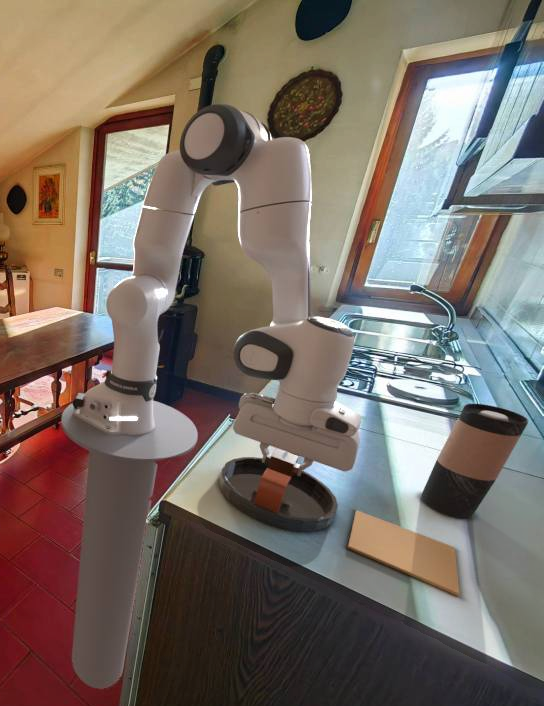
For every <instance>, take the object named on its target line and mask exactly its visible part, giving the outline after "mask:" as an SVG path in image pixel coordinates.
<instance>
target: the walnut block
mask: <svg viewBox="0 0 544 706" xmlns="http://www.w3.org/2000/svg"><path fill="white" fill-rule="evenodd" d="M271 454H272V455H271V458H270V461H269V464H268V467H267V468H268V469H271V470H274V471H276V472H279V473H282V474H284V475H287V476H290V477H292V471H293V468H294V466H295V464H296V463H297V464H298V460H299V457H300V456H297V455H294V454H291V453H290V452H287V451H284V450H281V449H278V448H275V450H274V451H273V453H271ZM290 480H291V479H290Z"/></svg>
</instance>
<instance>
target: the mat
mask: <svg viewBox="0 0 544 706" xmlns="http://www.w3.org/2000/svg"><path fill="white" fill-rule="evenodd" d="M347 549H348V550H351V551H353V552H355V553H357V554H360V555H362V556H364V557H367V558H369V559H371V560H373V561H376V562H378V563H380V564H383V565H385V566H387V567H390V568H393V569H395V570H397V571H399V572H401V573H404V574H405V575H406V574H407V575H408V576H411V577H413V578H415V579H418V580H419V581H422V582H425V583H427V584H429V585H432V586H434V587H435V588H438V589H440V590H442V591H446V592H447V593H450V594H452V595H454V596H456V597H459V596H460V584H459V575H458V574H459V573H458V564H457V555H456V548H455V547H454V546H452V545H449V544H446V543H444V542H442V541H439V540H436V539H434V538H431V537H428V536H426V535H423V534H421V533H417V532H416V531H413V530H411V529H407V528H404V527H402V526H399V525H397V524H394V523H392V522H389V521H386V520H383V519H381V518H379V517H376V516H373V515H371V514H368V513H365V512H362V511H361V510H357V509H356V510H355V513H354V517H353V521H352V526H351V530H350V534H349V539H348V543H347Z"/></svg>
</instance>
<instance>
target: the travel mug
mask: <svg viewBox="0 0 544 706" xmlns="http://www.w3.org/2000/svg"><path fill="white" fill-rule="evenodd" d="M528 424H529V419H528V418H527V417H525V416H524V415H522V414H520V413H518V412H515V411H512V410H509V409H505V408H502V407H499V406H494V405H489V404H483V403H467V404H465V405H463V408H462V410H461V411H460V414H459V416H458V417H457V420H456V422H455V423H454V426H453V427H452V430H451V431H450V433H449V435H448V437H447V439H446V441H445V443H444V444H443V446H442V449H441V450H440V453H439V454H438V456H437V458H436V460H435V462H434V465H433V468H432V469H431V471H430V473H429V477H428V478H427V481H426V483H425V485H424V488H423V490H422V492H421V495H420V498H421V501H422V502H423V503H424V504H425V505H427V507H430V508H431V509H432V510H435V511H436V512H439V513H441V514H443V515H446V516H449V517H454V518H456V519H457V518H458V519H470V518H472V516H473V515H474V514H475V513H476V511H477V510H478V508H479V506H480V505H481V504H482V502H483V501H484V499H485V498H486V496H487V494H488V493H489V491H490V490H491V488H492V486H493V485H494V484H495V482H496V480H497V479H498V477H499V475H500V474H501V472H502V471H503V469H504V466H505V465H506V463H507V461H508V460H509V458H510V456H511V454H512V452H513V450H514V449H515V447H516V445H517V443H518V442H519V440H520V438H521V437H522V435H523V433H524V431H525V430H526V427H527V426H528Z"/></svg>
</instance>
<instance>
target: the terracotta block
mask: <svg viewBox="0 0 544 706" xmlns="http://www.w3.org/2000/svg"><path fill="white" fill-rule="evenodd" d="M290 479H291V477H290V476H287V475H284V474H282V473H279V472H276V471H274V470H271V469H268V468H267V469H266V471H265V472H264V474H263V476H262V477H261V480H260V484H259V487H258V490H257V494H256V497H255V501H254V504H257V505H259V506H261V507H264V508H266V509H268V510H271V511H273V512H275V513H278V511H279V509H280V507H281V505H282V503H283V500H284V497H285V494H286V491H287V488H288V485H289V482H290Z"/></svg>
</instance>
